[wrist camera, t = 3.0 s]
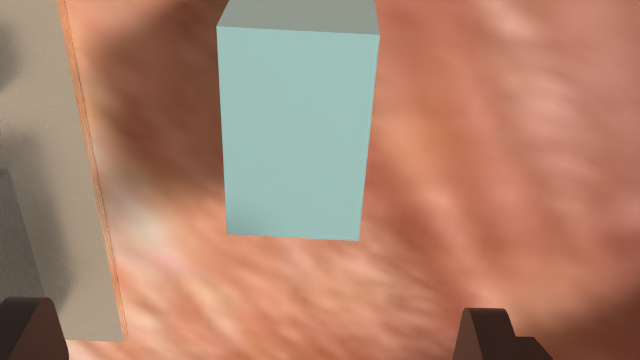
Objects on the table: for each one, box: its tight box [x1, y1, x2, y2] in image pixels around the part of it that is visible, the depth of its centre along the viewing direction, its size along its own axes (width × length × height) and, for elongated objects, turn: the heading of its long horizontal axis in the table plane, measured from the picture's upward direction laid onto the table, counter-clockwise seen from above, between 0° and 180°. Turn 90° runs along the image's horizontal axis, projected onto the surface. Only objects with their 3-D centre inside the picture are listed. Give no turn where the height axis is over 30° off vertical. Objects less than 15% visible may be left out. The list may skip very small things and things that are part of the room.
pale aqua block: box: [216, 0, 380, 241], centre depth 19 cm, size 6×4×6 cm, turn 178°
